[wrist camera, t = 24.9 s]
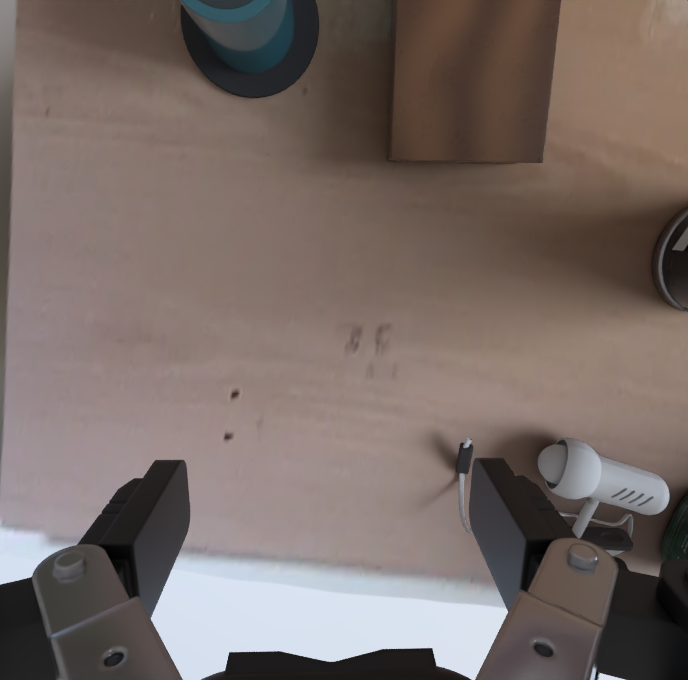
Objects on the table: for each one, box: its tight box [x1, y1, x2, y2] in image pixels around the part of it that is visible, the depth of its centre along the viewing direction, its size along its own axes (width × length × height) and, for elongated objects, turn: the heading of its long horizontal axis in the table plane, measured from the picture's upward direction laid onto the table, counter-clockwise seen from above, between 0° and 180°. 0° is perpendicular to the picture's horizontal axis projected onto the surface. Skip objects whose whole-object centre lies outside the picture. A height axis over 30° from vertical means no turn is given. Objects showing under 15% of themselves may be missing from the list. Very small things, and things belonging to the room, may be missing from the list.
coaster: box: [181, 0, 319, 98], centre depth 35 cm, size 10×10×1 cm
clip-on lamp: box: [456, 438, 670, 571], centre depth 43 cm, size 12×6×18 cm
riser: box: [387, 0, 561, 164], centre depth 34 cm, size 11×13×4 cm
